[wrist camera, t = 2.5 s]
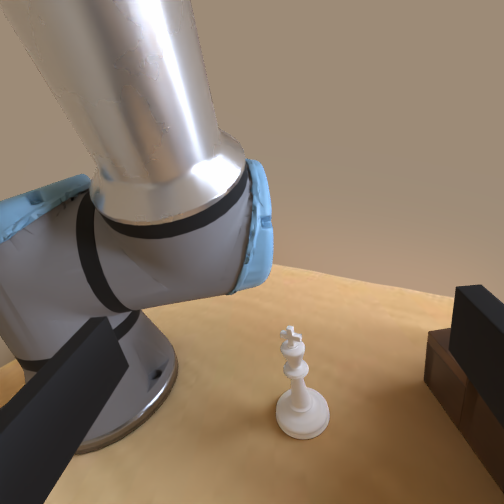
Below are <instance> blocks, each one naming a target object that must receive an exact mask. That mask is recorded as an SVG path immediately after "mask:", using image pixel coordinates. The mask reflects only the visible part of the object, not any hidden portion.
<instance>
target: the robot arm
mask: <svg viewBox="0 0 504 504" xmlns="http://www.w3.org/2000/svg"><path fill="white" fill-rule="evenodd" d="M0 8H1V9H2V11H3V13H4V15H5V16H6V18H7V19H8V21H9V23H10V24H11V26H12V28H13V29H14V31H15V32H16V34H17V36H18V37H19V39H20V40H21V42H22V44H23V45H24V47H25V49H26V51H27V52H28V54H29V55H30V57H31V59H32V60H33V62H34V64H35V65H36V67H37V68H38V70H39V72H40V74H41V75H42V77H43V78H44V80H45V82H46V83H47V85H48V87H49V88H50V90H51V92H52V93H53V95H54V96H55V98H56V100H57V101H58V103H59V105H60V106H61V108H62V110H63V111H64V113H65V114H66V116H67V118H68V119H69V121H70V122H71V124H72V126H73V128H74V129H75V131H76V132H77V134H78V136H79V137H80V139H81V141H82V142H83V144H84V146H85V147H86V149H87V151H88V152H89V154H90V156H91V157H92V159H93V160H94V162H95V163H96V165H97V167H96V170H95V172H94V175H93V177H92V180H90V178H89V177H88V176H86V175H84V174H80V175H76V176H74V177H70V178H67V179H64V180H61V181H58V182H55V183H52V184H50V185H47V186H44V187H41V188H38V189H35V190H32V191H29V192H26V193H24V194H20V195H17V196H15V197H11V198H8V199H5V200H2V201H0V336H1V337H2V339H3V340H4V342H5V343H6V345H7V346H8V348H9V349H10V350H11V352H12V353H13V355H14V356H15V358H16V359H17V361H18V362H19V364H20V365H21V367H22V368H23V371H24V375H25V385H24V386H23V387H22V388H21V389H20V390H19V392H18V393H17V394H16V395H15V396H14V397H13V398H12V399H11V400H10V401H9V402H8V403H7V404H5V405H4V406H3V407H1V408H0V504H43V503H44V502H45V500H46V499H47V497H48V495H49V494H50V492H51V491H52V489H53V487H54V486H55V484H56V483H57V481H58V479H59V478H60V476H61V475H62V473H63V471H64V470H65V468H66V467H67V465H68V463H69V462H70V460H71V459H72V457H73V455H74V454H82V453H87V452H91V451H94V450H97V449H100V448H103V447H105V446H108V445H110V444H112V443H114V442H116V441H118V440H120V439H121V438H123V437H125V436H126V435H128V434H130V433H131V432H132V431H134V430H135V429H137V428H138V427H139V426H141V425H142V424H143V423H144V422H145V421H146V420H148V419H149V418H150V417H151V416H152V415H153V414H154V413H155V412H156V411H157V410H158V408H159V407H160V406H161V405H162V404H163V402H164V401H165V400H166V398H167V397H168V395H169V393H170V392H171V390H172V388H173V386H174V383H175V381H176V378H177V373H178V360H177V357H176V354H175V351H174V348H173V346H172V344H171V343H170V342H169V340H168V339H167V337H166V336H165V335H164V334H163V333H162V332H161V331H160V330H159V329H158V328H157V327H156V326H155V325H154V323H153V322H152V321H151V320H150V319H149V318H148V317H147V316H146V315H145V314H144V313H143V312H142V310H141V309H146V308H151V307H156V306H162V305H167V304H173V303H179V302H185V301H191V300H197V299H202V298H208V297H214V296H220V295H232V294H234V293H236V292H237V291H240V290H244V289H248V288H253V287H256V286H259V285H261V284H262V283H263V282H264V281H265V280H266V279H267V278H268V276H269V274H270V271H271V267H272V260H273V227H272V224H271V200H270V193H269V188H268V182H267V178H266V175H265V172H264V169H263V167H262V165H261V163H260V162H258V161H256V160H250V159H245V154H244V150H243V148H242V146H241V144H240V143H239V142H238V141H237V140H236V139H235V138H234V137H233V136H231V135H230V134H228V133H226V132H225V131H223V130H221V129H219V128H218V125H217V120H216V115H215V111H214V107H213V102H212V97H211V92H210V88H209V84H208V79H207V74H206V69H205V65H204V60H203V56H202V51H201V46H200V42H199V37H198V33H197V28H196V24H195V19H194V15H193V10H192V5H191V1H190V0H0ZM448 350H449V351H450V353H451V354H452V356H453V357H454V358H455V360H456V361H457V363H458V364H459V366H460V367H461V369H462V370H463V371H464V373H465V374H466V376H467V377H468V379H469V380H470V381H471V383H472V384H473V386H474V387H475V389H476V390H477V392H478V393H479V394H480V396H481V397H482V399H483V400H484V402H485V403H486V404H487V406H488V407H489V409H490V410H491V412H492V413H493V415H494V416H495V417H496V419H497V420H498V422H499V423H500V425H501V426H502V428H503V429H504V304H503V303H502V302H501V301H500V300H499V299H497V298H496V297H495V296H494V295H492V293H490V292H489V291H488V290H487V289H486V288H485V287H483V286H482V285H470V286H459V287H456V291H455V299H454V307H453V315H452V324H451V332H450V340H449V348H448Z"/></svg>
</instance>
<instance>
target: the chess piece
mask: <svg viewBox="0 0 504 504" xmlns="http://www.w3.org/2000/svg"><path fill="white" fill-rule="evenodd" d="M280 337H281V338H284V339H288V340H286V341H284V342H283V343H282V345H281V352H282V354H283V356H284V357H285V358H286V360H287V362H286V363H285V365H284V368H283V371H284V374H285V375H286V376H287V377H288V378H290V379H291V389H289V390H287V391H286V392H285V393H283V394H282V395H281V397H280V398H279V400H278V402H277V405H276V419H277V422H278V425H279V426H280V428H281V429H282V430H283V431H284V432H285V433H286V434H287V435H289V436H291V437H293V438H297V439H311V438H314V437H316V436H318V435H319V434H321V433H322V432H323V431H324V430H325V429H326V427H327V425H328V423H329V419H330V412H329V408H328V405H327V402H326V400H325V399H324V397H323V396H322V395H321V394H320V393H319V392H317V391H316V390H314V389H311V388H308V387H306V385H305V382H304V378H303V377H305V376H306V375H307V373H308V371H309V368H308V365H307V363H306V362H305V361H304V360H302V359H303V355H304V352H305V345H304V343H303V342H302V341H301V340H302V334H298V333H294V328H293V326H288V327H287V328H286V331H284V330H282V331H281V333H280Z"/></svg>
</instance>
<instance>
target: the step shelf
mask: <svg viewBox="0 0 504 504" xmlns="http://www.w3.org/2000/svg"><path fill="white" fill-rule="evenodd" d="M450 332H451V328H447V329H441V330H434V331H429V332H428V340H427V341H428V342H427V349H426V360H425V371H424V382H425V383H426V384H427V386H428V387H429V389H430V390H431V392H432V393H433V394H434V396H435V397H436V399H437V400H438V401H439V403H440V404H441V406H442V407H443V409H444V410H445V411H446V413H447V414H448V416H449V417H450V418H451V420H452V421H453V423H454V424H455V426H456V427H457V428H458V430H459V431H460V432H461V434H462V435H463V437H464V438H465V439H466V441H467V442H468V444H469V445H470V446H471V448H472V449H473V451H474V452H475V453H476V455H477V456H478V458H479V459H480V461H481V462H482V463H483V465H484V466H485V468H486V469H487V470H488V472H489V473H490V475H491V476H492V478H493V479H494V480H495V482H496V483H497V485H498V486H499V487H500V489H501V490H502V492H503V493H504V429H503V428H502V426H501V425H500V423H499V422H498V420H497V419H496V417H495V416H494V415H493V413H492V412H491V410H490V409H489V407H488V406H487V404H486V403H485V402H484V400H483V399H482V397H481V396H480V394H479V393H478V392H477V390H476V389H475V387H474V386H473V384H472V383H471V381H470V380H469V379H468V377H467V376H466V374H465V373H464V371H463V370H462V369H461V367H460V366H459V364H458V363H457V361H456V360H455V358H454V357H453V356H452V354H451V353H450V351H449V350H448V348H449V340H450Z"/></svg>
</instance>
